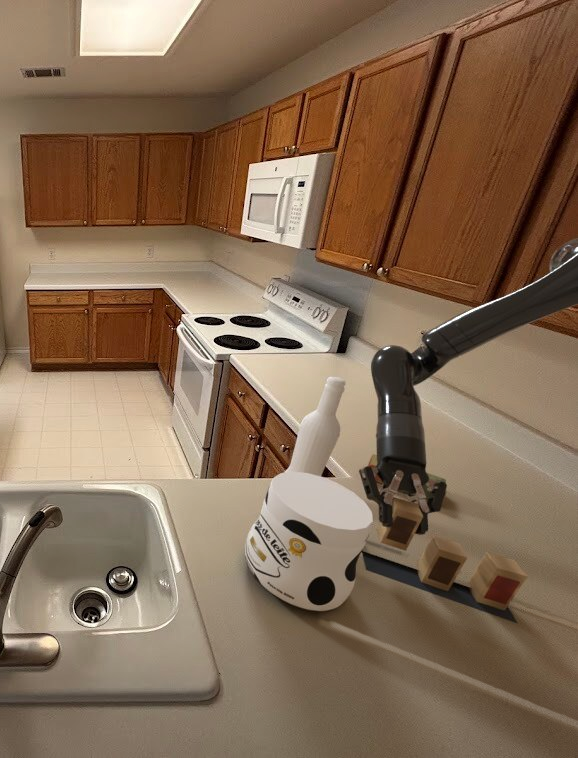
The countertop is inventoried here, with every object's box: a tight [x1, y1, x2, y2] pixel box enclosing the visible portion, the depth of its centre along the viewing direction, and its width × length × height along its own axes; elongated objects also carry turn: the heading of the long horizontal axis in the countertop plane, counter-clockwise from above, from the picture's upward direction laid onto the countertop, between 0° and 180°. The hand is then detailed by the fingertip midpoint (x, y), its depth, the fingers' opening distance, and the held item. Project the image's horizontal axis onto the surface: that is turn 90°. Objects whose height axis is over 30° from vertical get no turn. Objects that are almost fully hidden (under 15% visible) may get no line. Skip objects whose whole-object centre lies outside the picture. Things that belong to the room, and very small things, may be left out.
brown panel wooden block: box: [415, 534, 468, 591], centre depth 75 cm, size 4×4×8 cm
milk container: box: [244, 471, 374, 612], centre depth 72 cm, size 17×17×18 cm
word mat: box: [361, 550, 519, 625], centre depth 77 cm, size 22×8×1 cm, turn 64°
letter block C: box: [467, 552, 528, 610], centre depth 72 cm, size 4×4×8 cm
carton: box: [367, 453, 448, 504], centre depth 106 cm, size 8×16×4 cm, turn 50°
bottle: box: [283, 376, 346, 477], centre depth 95 cm, size 8×8×30 cm
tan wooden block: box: [376, 496, 423, 552], centre depth 76 cm, size 4×4×8 cm
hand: (403, 529), depth 74 cm, fingers closed on tan wooden block, 4 cm apart
